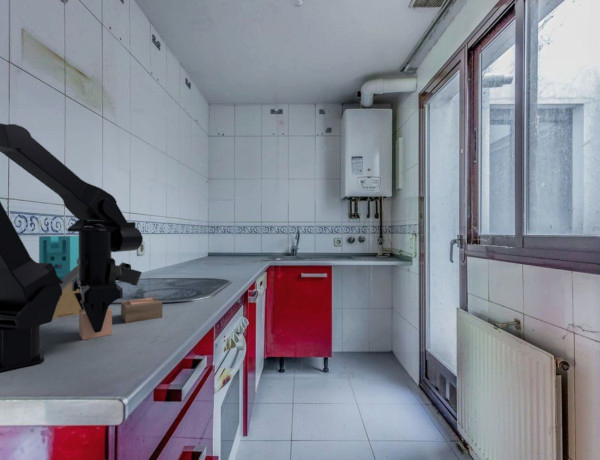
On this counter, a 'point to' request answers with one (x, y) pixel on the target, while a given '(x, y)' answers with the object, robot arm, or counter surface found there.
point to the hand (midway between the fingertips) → (95, 328)
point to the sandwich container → (68, 296)
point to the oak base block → (141, 309)
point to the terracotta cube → (86, 328)
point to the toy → (59, 253)
